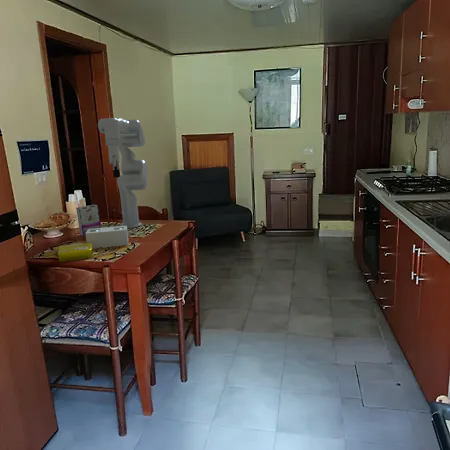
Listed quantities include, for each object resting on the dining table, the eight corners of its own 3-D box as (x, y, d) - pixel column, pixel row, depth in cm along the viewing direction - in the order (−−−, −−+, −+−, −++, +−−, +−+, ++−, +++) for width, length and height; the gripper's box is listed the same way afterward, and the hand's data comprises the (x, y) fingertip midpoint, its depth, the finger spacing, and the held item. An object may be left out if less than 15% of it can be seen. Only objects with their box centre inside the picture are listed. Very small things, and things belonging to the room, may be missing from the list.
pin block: (89, 243, 217) (87, 229, 216) (128, 240, 221) (126, 225, 219) (87, 248, 208) (85, 233, 206) (128, 244, 211) (126, 229, 210)
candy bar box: (97, 231, 244) (94, 204, 241) (101, 232, 241) (98, 205, 237) (79, 235, 237) (75, 207, 234) (83, 236, 234) (79, 208, 230)
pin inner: (116, 239, 217) (115, 228, 215) (124, 238, 217) (122, 227, 216) (115, 241, 213) (114, 229, 211) (123, 240, 214) (122, 229, 212)
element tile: (92, 250, 207) (91, 240, 206) (93, 258, 193) (91, 248, 192) (60, 254, 202) (58, 244, 201) (58, 263, 188) (57, 253, 187)
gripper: (106, 142, 224) (110, 176, 228) (104, 143, 210) (108, 179, 214) (121, 141, 225) (124, 175, 229) (119, 142, 211) (123, 178, 215)
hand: (116, 177), depth 222 cm, fingers closed
